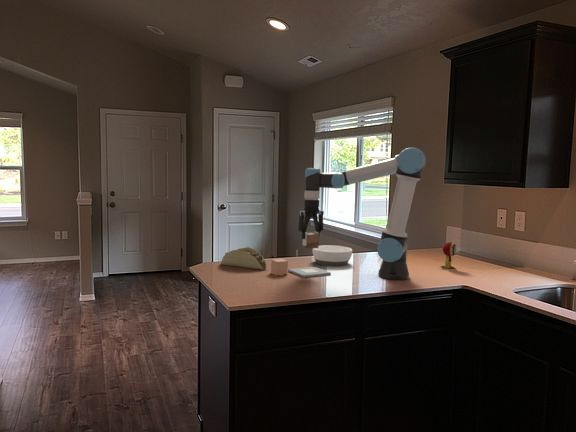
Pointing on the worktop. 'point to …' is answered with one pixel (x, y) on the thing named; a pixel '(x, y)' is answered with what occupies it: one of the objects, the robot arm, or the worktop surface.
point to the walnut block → (311, 241)
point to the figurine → (448, 255)
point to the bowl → (332, 255)
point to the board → (309, 272)
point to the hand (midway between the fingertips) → (310, 244)
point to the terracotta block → (279, 266)
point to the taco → (244, 259)
